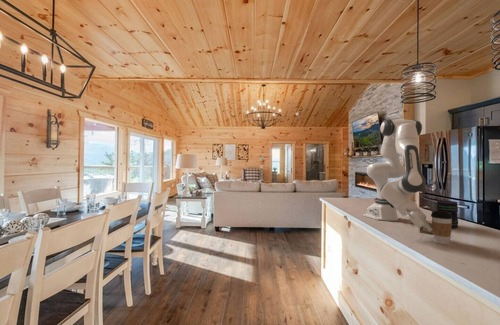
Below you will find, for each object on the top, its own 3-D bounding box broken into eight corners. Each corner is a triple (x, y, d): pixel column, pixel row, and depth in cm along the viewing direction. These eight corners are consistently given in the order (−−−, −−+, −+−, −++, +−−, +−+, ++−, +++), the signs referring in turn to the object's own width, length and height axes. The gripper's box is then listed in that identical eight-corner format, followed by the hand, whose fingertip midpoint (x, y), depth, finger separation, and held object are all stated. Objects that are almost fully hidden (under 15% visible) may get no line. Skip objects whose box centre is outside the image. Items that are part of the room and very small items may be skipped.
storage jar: (462, 229, 137) (462, 203, 137) (443, 228, 139) (442, 203, 139) (451, 224, 147) (450, 200, 147) (433, 224, 149) (433, 200, 149)
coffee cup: (436, 244, 113) (435, 213, 113) (428, 238, 121) (427, 209, 121) (457, 245, 111) (456, 213, 111) (447, 240, 119) (447, 210, 119)
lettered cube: (419, 232, 132) (419, 221, 132) (420, 230, 137) (419, 219, 137) (433, 234, 128) (432, 223, 128) (433, 231, 133) (432, 220, 133)
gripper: (411, 207, 115) (436, 230, 109) (414, 201, 131) (437, 221, 125) (400, 215, 118) (424, 238, 112) (404, 208, 134) (426, 229, 128)
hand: (431, 229), depth 118 cm, fingers closed, pressing on coffee cup
